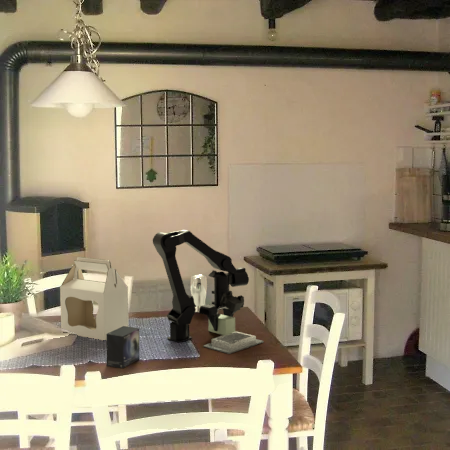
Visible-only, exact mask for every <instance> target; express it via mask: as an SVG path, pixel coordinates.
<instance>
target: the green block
mask: <svg viewBox="0 0 450 450" xmlns="http://www.w3.org/2000/svg"><path fill="white" fill-rule="evenodd" d="M220 314H221V315H220V316H219V317H218V329H217V331H214V329H213V326H212V324H211V322H210V320H209V319H208V332H211V333H214V334H217V335H220V336H223V335H226V334H230V333H233V332H236V317H235V316H233V317H231V316H226V315H224V314H222V313H220Z"/></svg>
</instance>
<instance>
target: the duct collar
mask: <svg viewBox="0 0 450 450" xmlns="http://www.w3.org/2000/svg"><path fill="white" fill-rule="evenodd" d="M263 343H264V340H261V339H257V336H256V335H253V334H250V333H249V334H248V333H245V332H242V331H237V330H235V332H233V333H230V334H226V335H220V336H216V337H214V338H211V342H210V343H207V344H204V345H203V347H202V348H206V349H209V350H213V351H217V352H220V353H223V354H227V355H231V354H234V353H236V352H239V351H242V350H245V349H248V348H252V347H254V346H257V345H259V344H263Z"/></svg>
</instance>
